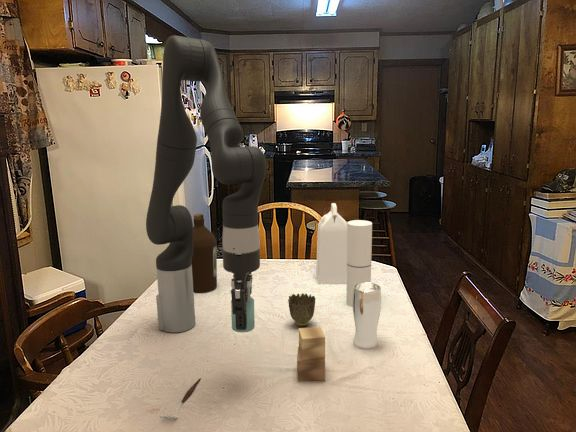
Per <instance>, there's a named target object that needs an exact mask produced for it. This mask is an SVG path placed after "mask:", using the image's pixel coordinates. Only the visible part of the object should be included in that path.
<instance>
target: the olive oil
mask: <svg viewBox="0 0 576 432" xmlns="http://www.w3.org/2000/svg"><path fill="white" fill-rule="evenodd" d="M204 215H205V214H203V213H195V214H193V218H192V221H193V256H192V277H193V292H194V294H195V293H196V294H198V293H199V294H204V293H209V292H212V291H214V290H216V289H217V288H218V274H217V273H218V272H217V271H218V268H217V267H218V263H217V261H218V257H217V256H218V255H217V253H218V251H217V250H218V245H217V244H218V242H217V239H216V236H215V235H214V233H213V232H212V231H210V229H209V228H207V227H206V225H205V218H204Z"/></svg>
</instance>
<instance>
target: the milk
mask: <svg viewBox="0 0 576 432" xmlns="http://www.w3.org/2000/svg"><path fill="white" fill-rule="evenodd" d="M347 222H348V221H346V219H345V218H343V217H342V215H341V214H339V212H338V206H337V204H336V202H332V203H331V204H330V211H329V212H327V213H325V214H324V215H323V216H322V217H321V218H320V220H319V222H318V223H317V237H316V241H317V242H316V243H317V244H316V272H315V273H316V280H317V285H347Z"/></svg>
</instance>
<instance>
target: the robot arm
mask: <svg viewBox="0 0 576 432" xmlns="http://www.w3.org/2000/svg"><path fill="white" fill-rule="evenodd" d="M216 51H217V50H216V49H215V47H214V45H213V44H212V43H211V42H210V41H207V40H205V39H201V38H193V37H187V36H182V35H181V36H180V35H170V36H168V38H167V39H166V41H165V43H164V48H163V53H162V75H161V77H162V80H161V82H162V83H161V84H162V85H161V105H160V106H161V108H160V116H159V117H160V118H159V124H158V133H157V141H156V150H155V151H156V152H155V162H154V163H155V165H154V172H153V173H154V174H153V181H152V186H151V187H152V188H151V193H150V198H149V202H148V208H147V212H146V217H145V218H146V219H145V229H146V235H147V237H148V239H149V241H150V242H151V243H152V244H153V245H166V244H168V245H167V246H166V248H165V249H164V250H163V251H161V253H159V254H158V255H157V256H156V258H155V267H156V268H155V269H156V279H157V291H158V294H157V295H156V298H155V302H156V311H157V325H158V330H159V331H164V332H166V333H173V334H175V333H183V332H186V331H189V330H191V329H192V328H194V327H195V325H196V310H195V292H193V277H192V256H193V227H194V221H193V217H192V216H191V215H192V214H191V212H190V211H189V210H188V208H187V207H186V206H184V205H181V204H180V205H178V204H177V205H173V206H172V204H173V200H174V198H175V195H176V193H177V192H178V190H179V188H180V187H181V185H182V184H183V183H184V181H185V180H186V178H187V177H188V175H189V174H190V173H191V170H192V168H193V166H194V164H195V159H196V152H197V144H198V143H197V142H198V137H197V132H196V130H195V128H194V126H193V123H192V121H191V120H190V118H189V116H188V113H187V111H186V109H185V107H184V104H183V103H184V102H183V99H182V92H181V91H182V89H181V88H182V87H181V86H182V81H188V82H198V83H199V82H201V83H203V85H204V86H205V88H206V90H205V91H206V92H205V93H204V97H203V99H202V102H201V104H200V108H199V109H200V110H199V116H200V121H201V124H202V127H203V130H204V131H205V134H206V137H207V139H208V142H209V146H210V153H211V155H210V156H211V157H210V158H211V171H212V172H211V173H212V175H213V177H214V178H215V179H216V180H217V182H219V183H221V184H222V185H236V184H242V185H241V188H240V189H239V190H238V191H237V192H235V193H232V194H229V195H227V196H225V197H224V198H223V200H222V207H221V208H222V234H221V235H222V236H221V237H222V240H221V241H222V265H223V266H222V267H223V270H224V271H225V272H228V273H232V278H231V279H230V280H231V281H230V287H231V290H230V295H231V300H232V309H233V310H232V312H233V314H235V317H236V329H237V330H246V328H247V302H248V301H249V299H250V297H251V295H252V292H253V284H252V283H253V279H254V278H253V274H252V272H253V273H254V272H255V271H258V269H260V267H261V252H260V251H261V250H260V249H261V246H260V245H261V243H260V241H261V239H260V238H261V237H260V229H259V209H258V208H259V207H258V206H259V201H260V197H261V192H262V188H263V185H264V181H265V178H266V172H267V160H266V156H265V154H264V152H263V151H262V150H261V149H260V148H259V147H257V146H253V145H252V146H251V145H250V146H239V145H240V144H241V143H242V141H243V138H244V131H243V128H242V126H241V124H240V121H239V120H238V117H237V115H236V113H235V111H234V109H233V107H232V105H231V102H230V100H229V97H228V93H227V88H226V84H225V80H224V77H223V73H222V69H221V65H220V62H219V58H218V55H217V52H216ZM245 296H246V297H245ZM237 306H242V307H237Z"/></svg>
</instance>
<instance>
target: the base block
mask: <svg viewBox="0 0 576 432" xmlns="http://www.w3.org/2000/svg"><path fill="white" fill-rule="evenodd" d="M296 357H297V359H296V368H297V369H296V375H297V376H296V378H297V379H296V380H297V382H317V383H320V382H326V357H325V358H323V359H311V360H302V358H301V354H300V351H299V346H298V347H297V356H296Z"/></svg>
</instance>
